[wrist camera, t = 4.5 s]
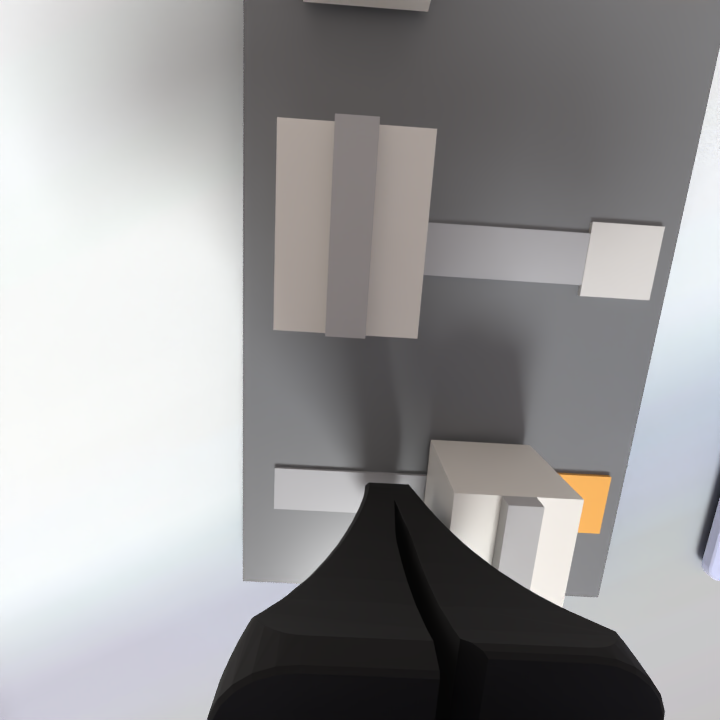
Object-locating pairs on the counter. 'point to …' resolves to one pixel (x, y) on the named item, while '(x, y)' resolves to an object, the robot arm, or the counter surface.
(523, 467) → the block
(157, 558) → the counter surface
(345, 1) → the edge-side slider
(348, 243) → the middle slider
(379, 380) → the switch panel
